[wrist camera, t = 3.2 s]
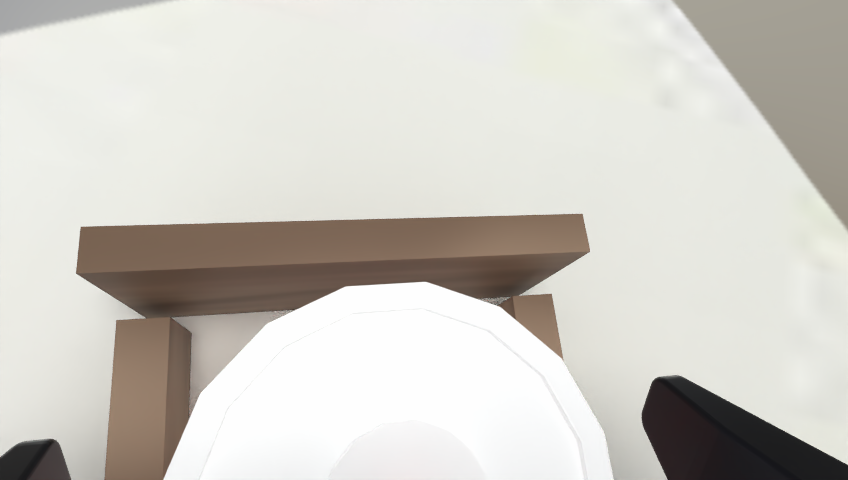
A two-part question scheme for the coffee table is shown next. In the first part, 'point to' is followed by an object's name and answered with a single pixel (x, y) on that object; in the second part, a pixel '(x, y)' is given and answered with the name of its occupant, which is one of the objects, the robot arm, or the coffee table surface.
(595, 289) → the coffee table surface
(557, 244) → the rack
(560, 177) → the coffee table surface
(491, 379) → the beverage cup
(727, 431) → the robot arm
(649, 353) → the coffee table surface
